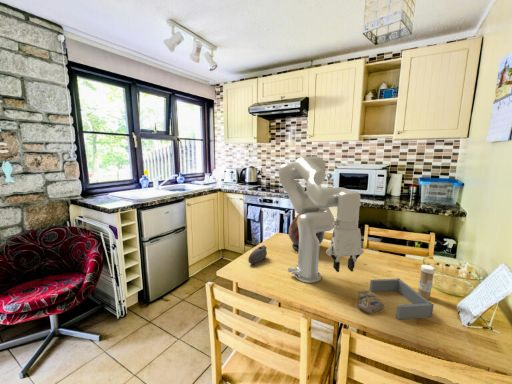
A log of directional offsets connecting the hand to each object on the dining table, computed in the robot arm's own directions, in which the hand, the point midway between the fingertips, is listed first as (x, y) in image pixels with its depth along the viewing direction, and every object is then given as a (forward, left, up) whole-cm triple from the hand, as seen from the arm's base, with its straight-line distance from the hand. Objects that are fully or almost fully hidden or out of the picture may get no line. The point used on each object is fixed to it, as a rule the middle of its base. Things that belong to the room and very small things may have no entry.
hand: (343, 269), depth 91 cm
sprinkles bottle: (+38, +3, -16) cm, 41 cm away
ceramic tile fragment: (+12, 0, -16) cm, 20 cm away
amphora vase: (+3, +56, -16) cm, 58 cm away
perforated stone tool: (-28, +41, -16) cm, 53 cm away
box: (+24, 0, -15) cm, 28 cm away
